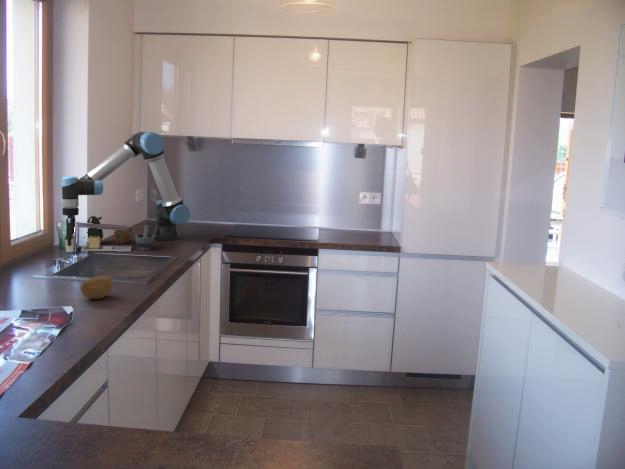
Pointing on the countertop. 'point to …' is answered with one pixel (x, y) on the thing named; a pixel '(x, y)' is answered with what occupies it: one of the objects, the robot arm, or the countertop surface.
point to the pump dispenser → (94, 230)
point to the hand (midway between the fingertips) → (71, 249)
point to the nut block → (66, 243)
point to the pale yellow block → (94, 242)
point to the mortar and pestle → (144, 239)
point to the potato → (97, 287)
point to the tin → (122, 236)
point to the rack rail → (107, 248)
